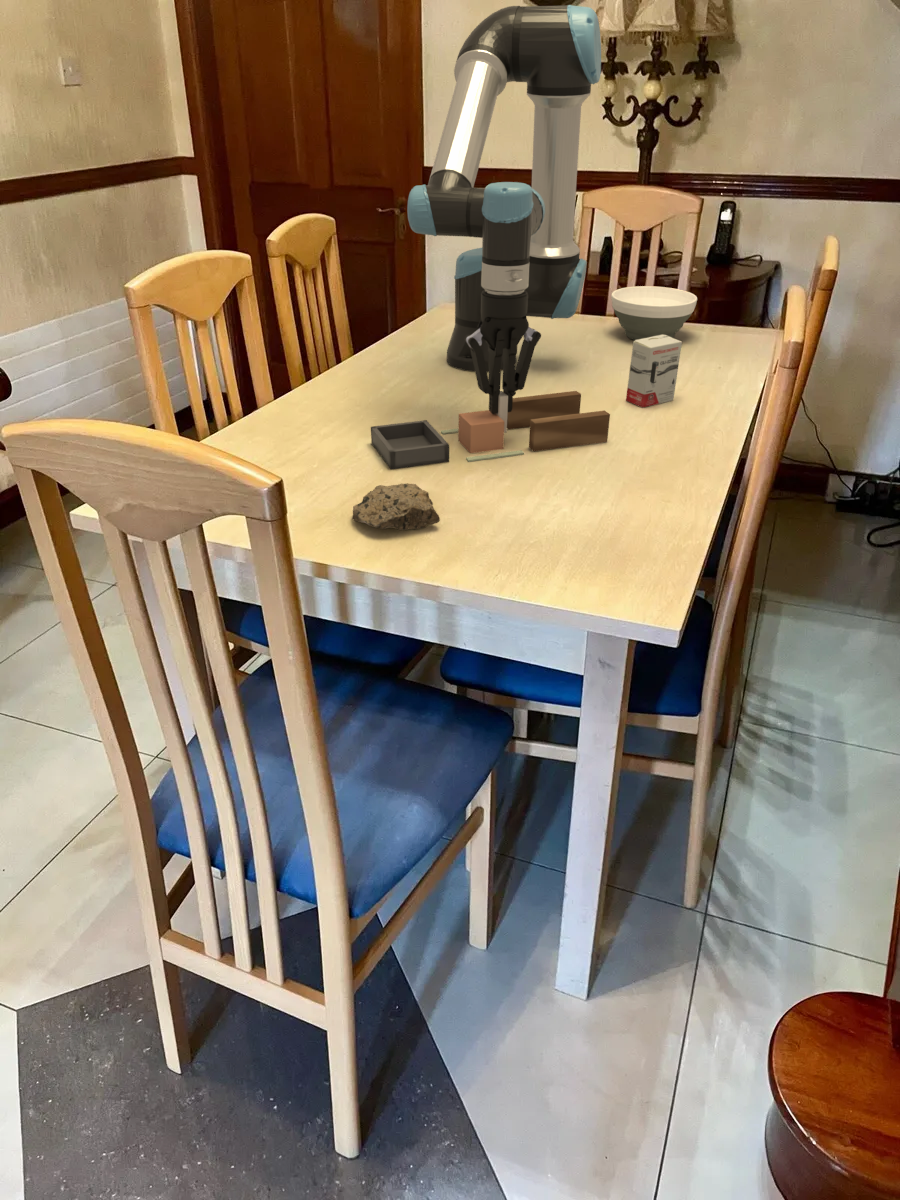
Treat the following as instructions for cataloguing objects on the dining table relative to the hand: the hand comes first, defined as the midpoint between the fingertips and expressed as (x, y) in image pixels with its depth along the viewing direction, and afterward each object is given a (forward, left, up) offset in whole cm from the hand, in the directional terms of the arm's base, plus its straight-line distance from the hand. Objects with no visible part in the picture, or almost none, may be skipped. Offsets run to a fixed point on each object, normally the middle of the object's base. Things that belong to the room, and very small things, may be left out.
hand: (499, 430), depth 157 cm
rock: (+23, -26, -2) cm, 35 cm away
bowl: (-50, +59, -2) cm, 77 cm away
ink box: (-10, +36, -2) cm, 37 cm away
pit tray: (0, -16, -2) cm, 17 cm away
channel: (0, +11, -2) cm, 11 cm away
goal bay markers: (0, -3, -2) cm, 4 cm away
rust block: (+1, -4, -2) cm, 4 cm away
